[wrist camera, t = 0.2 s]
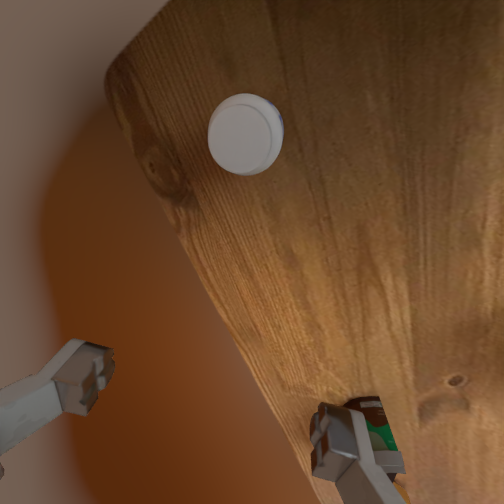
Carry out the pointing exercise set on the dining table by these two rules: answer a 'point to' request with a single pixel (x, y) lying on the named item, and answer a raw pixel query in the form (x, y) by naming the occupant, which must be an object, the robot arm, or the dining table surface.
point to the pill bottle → (245, 134)
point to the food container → (379, 435)
